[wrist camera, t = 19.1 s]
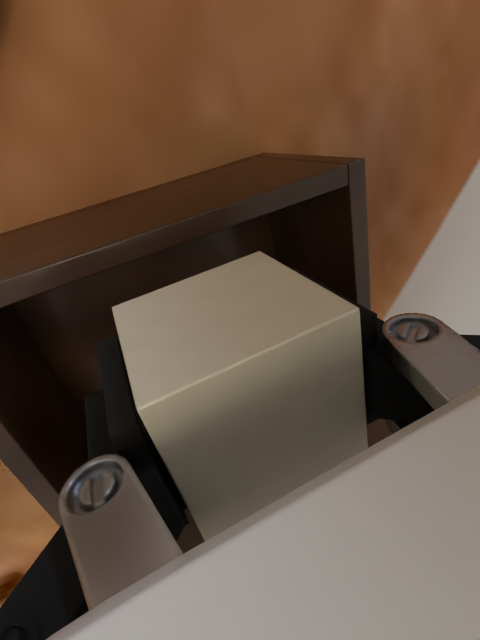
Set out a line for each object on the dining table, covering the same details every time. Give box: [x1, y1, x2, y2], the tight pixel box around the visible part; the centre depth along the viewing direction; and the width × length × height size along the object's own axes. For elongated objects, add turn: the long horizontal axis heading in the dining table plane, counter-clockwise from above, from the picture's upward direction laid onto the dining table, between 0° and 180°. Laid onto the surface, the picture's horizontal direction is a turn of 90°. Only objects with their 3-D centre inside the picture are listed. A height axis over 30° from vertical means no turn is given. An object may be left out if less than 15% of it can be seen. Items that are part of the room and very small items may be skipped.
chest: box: [0, 153, 371, 527], centre depth 19 cm, size 13×17×9 cm
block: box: [112, 251, 368, 541], centre depth 9 cm, size 4×4×4 cm
